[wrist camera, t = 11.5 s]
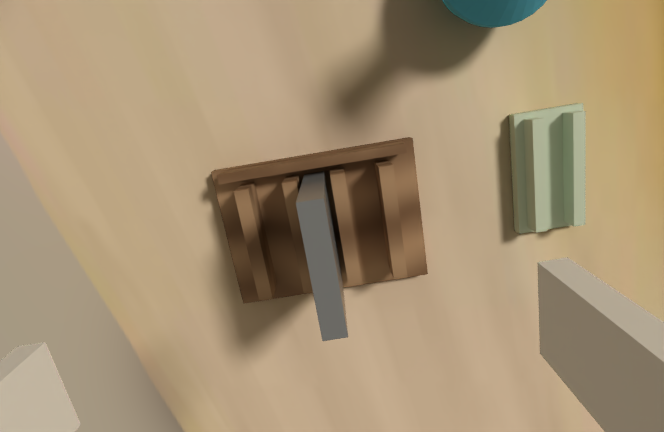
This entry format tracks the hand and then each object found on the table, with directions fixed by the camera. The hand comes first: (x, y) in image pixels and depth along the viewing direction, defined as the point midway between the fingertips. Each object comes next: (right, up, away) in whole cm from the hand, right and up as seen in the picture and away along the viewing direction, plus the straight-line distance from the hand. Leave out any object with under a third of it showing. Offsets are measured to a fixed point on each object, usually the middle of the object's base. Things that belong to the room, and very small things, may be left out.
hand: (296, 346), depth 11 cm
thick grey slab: (0, +3, +27) cm, 27 cm away
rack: (0, +3, +28) cm, 28 cm away
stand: (+21, +8, +27) cm, 35 cm away
